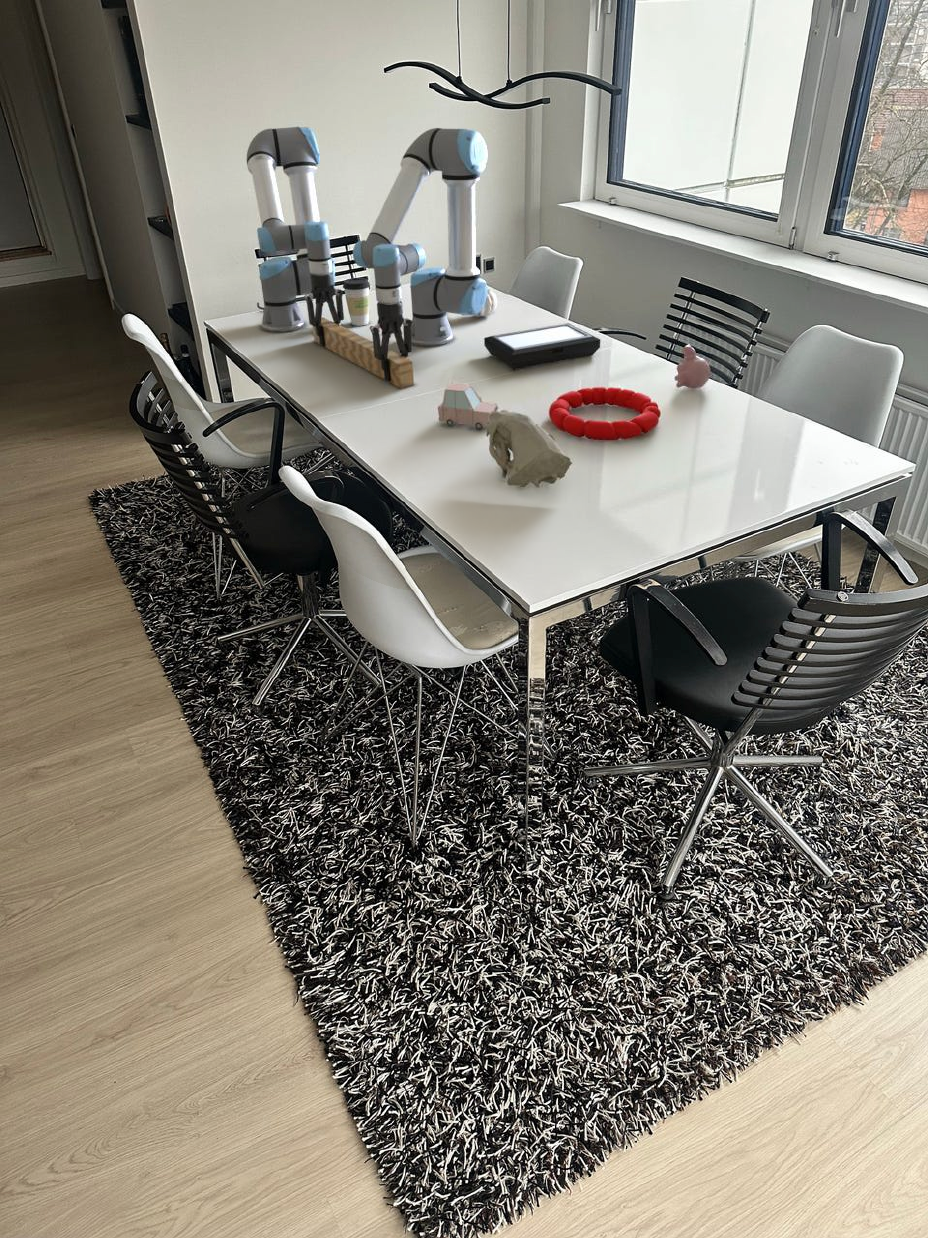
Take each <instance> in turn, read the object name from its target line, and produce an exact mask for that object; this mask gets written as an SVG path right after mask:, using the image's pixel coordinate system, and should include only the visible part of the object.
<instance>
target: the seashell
mask: <svg viewBox="0 0 928 1238" xmlns="http://www.w3.org/2000/svg"><path fill="white" fill-rule="evenodd" d="M497 305H498V299H497V297H496V294H495V292H493V291H492V290H491V289H488V288H487V298H486V301H485V304H484V306H483V308H482V309H481V311H480V312H479V313H478V314H476V315H473V316H472V317H476V318H477V317H489V316H490V315H492V313H493V312H494V311H495V310H496V308H497Z"/></svg>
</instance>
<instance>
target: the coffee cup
mask: <svg viewBox="0 0 928 1238" xmlns="http://www.w3.org/2000/svg"><path fill="white" fill-rule="evenodd" d="M370 287H371V283H370V282H369V279H367V278H365V277H351V278H347V279H345V280H344V281H343V285H342V288H343V290H344V297H345V301H346V305H347V310H348V314H349V318H350V323H351V325H353V326H357V327H359V326H365V325H368V324H369V317H370V316H369V313H370Z"/></svg>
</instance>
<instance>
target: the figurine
mask: <svg viewBox="0 0 928 1238" xmlns="http://www.w3.org/2000/svg"><path fill="white" fill-rule="evenodd" d="M682 354H683V358H684V359H683V361H682V362H679V363H678V364H677V365H676V372H677V375H675V376H674V381H675V382H676V381H677V382H676V384H675V386H676V388H681V387H686V388H688V389H693V390H694V389H695V390H696V389H700V388H703V387H704V386H705V385H706V384H707V383H708V382H709V379H710V377H711V367H710V364H709V362H708V361H706V359H704V358H702V357H700V356H697V353H696V350H695V349H694V347H692V345H690V344H686V345H685V346H684V347H683V348H682Z"/></svg>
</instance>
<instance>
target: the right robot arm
mask: <svg viewBox="0 0 928 1238" xmlns="http://www.w3.org/2000/svg"><path fill="white" fill-rule="evenodd" d="M487 147H488V146H487V144H486V141H485V139H484V137H483V136H482V135H481V133H479V131H477V130H474V129H467V128H441V127H434V128H429V129H427V130H425V131H424V132H422V133H421V134H420V135H419V136H417V137H416V139H414V140H413V142H412V143H411V144H410V145H409V146H408V148H407V149H406V151H405V152H404V154H403V156H402V158H401V161H400V163H399V165H400V170H399V173H398V174H397V176H396V177H395V180H394V182H393V185H392V187H391V189H390V190H389V193H388V194H387V197H386V199H385V201H384V203H383V204H382V206H381V209H380V211H379V213H378V216H377V217H376V219H375V222H374V224H373V225H372V228H371V229H370V232H369V234H368V236H367V238H366V240H358V241H357V242H356V243H355V244H354V245H353V248H352V258H353V261H354V263H355V264H356V265H357V266H358V267H361V268H365V269H369V270H371V269H372V270H373V272H374V274H373V275H374V281H375V282H374V283H375V285H374V286H375V300H376V302H377V303H376V311H377V312H376V313H377V317H378V319H377V323H376V324H375V325H370V326H369V330H370V332H371V335H372V336H371V337H372V342H373V347H374V357H375V358H376V359H378V360H381V369H382V370H383V371H384V378H385V379H384V380H385V381H386V382H389V383H390V381H391V374H390V361H389V360H388V359H387V355H388V350H389V346H390V340H391V337H392V335H394V337H395V341H396V345H397V348H398V352H399V355H401V356H403V357H405V358H407V357H409V354H410V353H412V352H413V345H415V346H420V347H421V346H422V347H435V346H436V347H437V346H442V345H447V344H449V343H450V342H452V341H453V339H454V338H453V337H454V336H453V330H452V328H451V325H450V322H449V320H448V317H447V313H449V314H455V315H461V316H472V317H474V316H473V315H476V314H478V313H479V312H480V311H481V309H482V308H483V306H484V304H485V301H486V298H487V289H488V285H487V282H486V281H485V280H484V279H483V278H481V271H480V269H479V268H478V267H477V266H476V190H475V189H476V184H477V182H478V181H479V180H480V179H481V178H480V176H481V175H480V174H482V173H483V172H484V171H485V169H486V167H487V166H486V165H487V163H488V148H487ZM436 171H437V172H441V180H442V181H443V182H444V183H445V184H446V195H447V196H446V197H447V232H448V233H447V240H448V241H447V243H448V245H447V247H448V267H446V269H444V268H443V267H429V268H423V267H424V265H425V263H426V260H427V259H426V258H427V257H426V252H425V250H424V248H423V247H422V245H420V244H419V243H415V242H413V243H407V244H406V245H403V244H395V243H394V242H395V240H396V238H397V236H398V234H399V232H400V230H401V227H402V226H403V224H404V222H405V219H406V218H407V215H408V213H409V211H410V209H411V208H412V205H413V203H414V201H415V199H416V197H417V195H418V193H419V191H420V189H421V187H422V185H423V183H424V182H426V181H428V180H429V178H430V176H431V174H433V173H434V172H436ZM422 268H423V269H422ZM409 274H411V275H410V285H409V287H410V299H411V311H412V312H411V313H412V319H409V318H407V317H406V318H405V317H404V315H403V313H404V309H403V302H402V300H403V297H402V281H401V277H403V276H406V275H409ZM402 329H403V331H402ZM380 330H381V331H380ZM380 333H381V334H380ZM407 359H408V358H407Z"/></svg>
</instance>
